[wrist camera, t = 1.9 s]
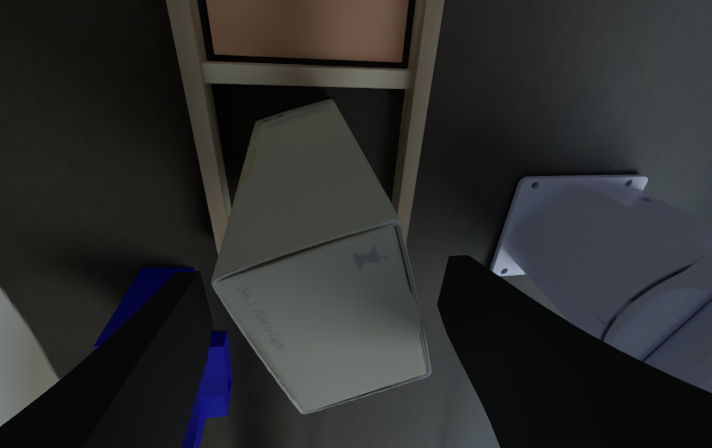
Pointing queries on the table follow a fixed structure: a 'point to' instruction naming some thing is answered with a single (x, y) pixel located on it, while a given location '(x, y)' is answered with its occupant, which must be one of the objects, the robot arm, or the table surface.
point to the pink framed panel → (305, 69)
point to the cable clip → (218, 366)
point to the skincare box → (320, 264)
